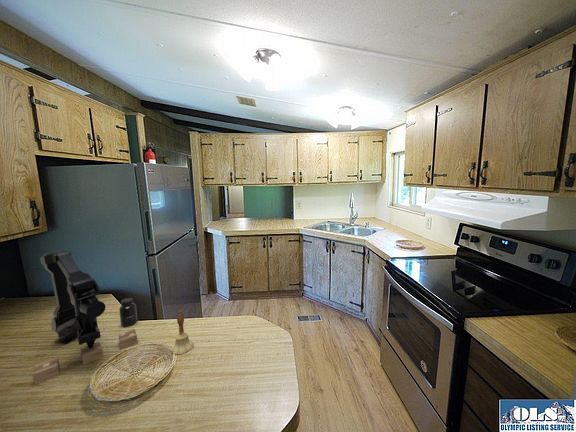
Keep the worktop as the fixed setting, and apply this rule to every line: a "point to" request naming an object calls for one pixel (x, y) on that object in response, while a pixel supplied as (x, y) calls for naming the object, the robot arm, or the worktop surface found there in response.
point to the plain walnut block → (91, 353)
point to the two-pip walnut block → (127, 339)
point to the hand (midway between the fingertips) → (90, 347)
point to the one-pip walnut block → (46, 370)
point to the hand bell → (182, 337)
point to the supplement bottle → (128, 312)
